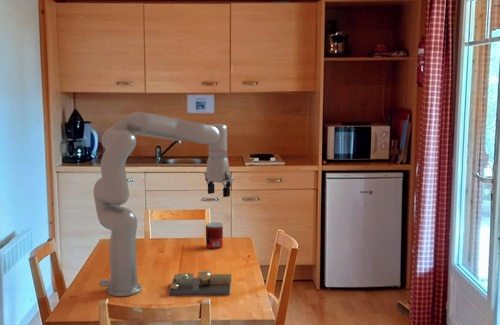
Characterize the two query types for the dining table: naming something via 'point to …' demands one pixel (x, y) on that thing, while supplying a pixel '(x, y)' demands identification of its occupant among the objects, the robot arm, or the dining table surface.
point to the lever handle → (213, 278)
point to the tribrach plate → (196, 286)
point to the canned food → (214, 235)
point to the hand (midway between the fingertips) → (218, 195)
